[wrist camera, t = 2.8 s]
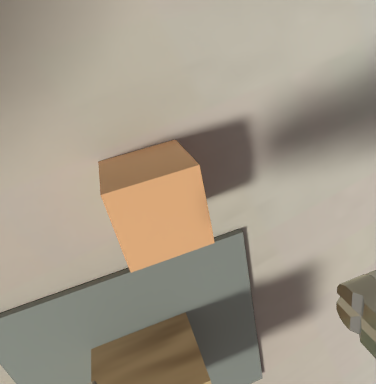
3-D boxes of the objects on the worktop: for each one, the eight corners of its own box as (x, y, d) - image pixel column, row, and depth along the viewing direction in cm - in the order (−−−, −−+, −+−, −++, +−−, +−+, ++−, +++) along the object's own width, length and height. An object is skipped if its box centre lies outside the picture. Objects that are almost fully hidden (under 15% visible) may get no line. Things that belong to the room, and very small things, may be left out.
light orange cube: (98, 161, 18) (100, 194, 14) (175, 139, 19) (199, 164, 15) (122, 226, 21) (130, 272, 16) (189, 204, 22) (214, 242, 17)
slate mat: (-27, 322, 20) (-30, 328, 20) (240, 228, 24) (242, 232, 23) (79, 454, 30) (79, 460, 29) (260, 374, 33) (262, 378, 33)
